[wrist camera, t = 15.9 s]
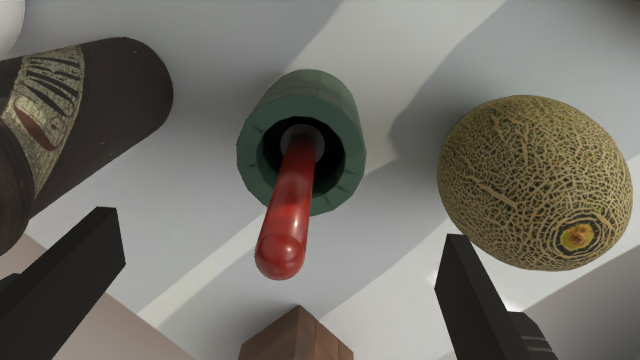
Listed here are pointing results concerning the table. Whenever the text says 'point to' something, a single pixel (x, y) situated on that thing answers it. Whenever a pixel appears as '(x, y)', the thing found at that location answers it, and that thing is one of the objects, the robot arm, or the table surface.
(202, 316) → the table surface
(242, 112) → the table surface
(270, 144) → the green hollow cylinder
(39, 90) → the container
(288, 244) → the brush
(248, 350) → the holder
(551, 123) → the fruit
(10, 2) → the sculpture
